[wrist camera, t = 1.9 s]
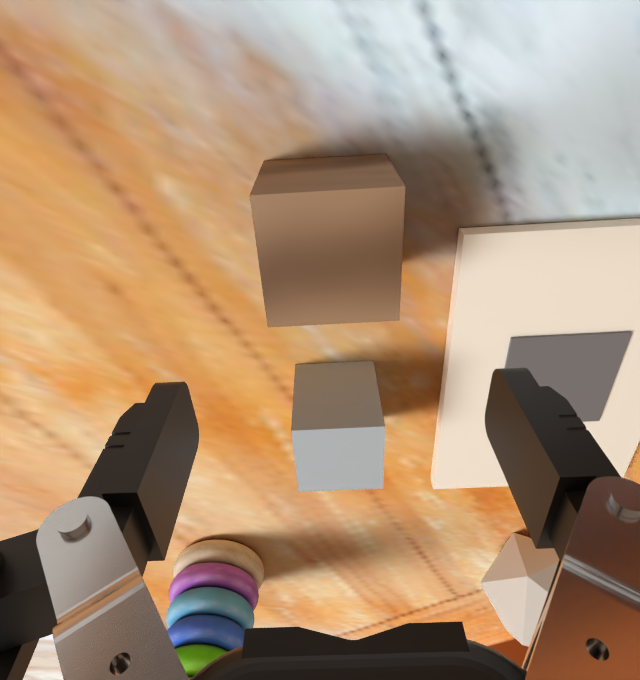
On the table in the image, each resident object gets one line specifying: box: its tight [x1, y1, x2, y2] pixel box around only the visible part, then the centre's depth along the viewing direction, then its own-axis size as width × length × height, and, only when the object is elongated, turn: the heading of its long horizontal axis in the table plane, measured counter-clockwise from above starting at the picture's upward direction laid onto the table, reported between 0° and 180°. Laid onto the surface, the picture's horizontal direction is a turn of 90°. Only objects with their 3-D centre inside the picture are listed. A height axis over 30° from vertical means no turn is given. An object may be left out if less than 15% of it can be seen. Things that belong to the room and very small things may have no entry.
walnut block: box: [250, 154, 405, 327], centre depth 22 cm, size 6×6×6 cm
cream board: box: [431, 218, 640, 489], centre depth 30 cm, size 20×14×1 cm
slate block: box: [291, 361, 385, 492], centre depth 29 cm, size 5×5×6 cm
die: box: [480, 533, 559, 647], centre depth 38 cm, size 8×9×10 cm
